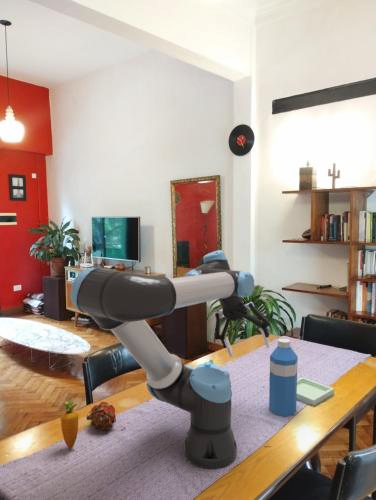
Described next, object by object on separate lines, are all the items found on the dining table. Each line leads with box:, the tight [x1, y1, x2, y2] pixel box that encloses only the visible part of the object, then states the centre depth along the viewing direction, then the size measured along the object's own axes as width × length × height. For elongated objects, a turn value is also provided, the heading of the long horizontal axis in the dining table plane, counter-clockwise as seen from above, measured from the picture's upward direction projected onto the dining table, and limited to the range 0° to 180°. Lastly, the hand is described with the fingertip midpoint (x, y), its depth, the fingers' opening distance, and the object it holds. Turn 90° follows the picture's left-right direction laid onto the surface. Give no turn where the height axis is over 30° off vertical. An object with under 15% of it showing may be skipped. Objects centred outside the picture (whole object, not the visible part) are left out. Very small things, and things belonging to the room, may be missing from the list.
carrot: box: [60, 398, 79, 450], centre depth 115 cm, size 5×5×15 cm
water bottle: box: [268, 338, 298, 418], centre depth 137 cm, size 9×9×25 cm
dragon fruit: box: [85, 401, 117, 431], centre depth 128 cm, size 8×8×12 cm
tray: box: [296, 376, 335, 408], centre depth 150 cm, size 14×14×2 cm
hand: (250, 350), depth 137 cm, fingers open, 13 cm apart
